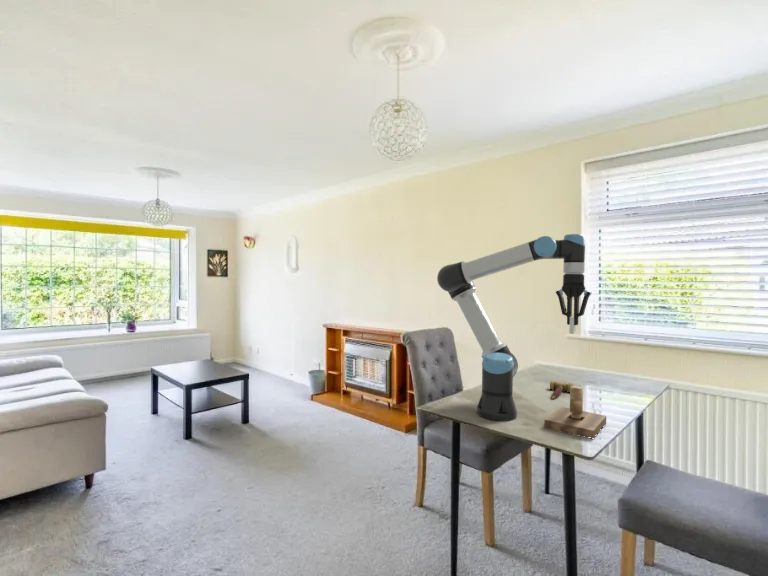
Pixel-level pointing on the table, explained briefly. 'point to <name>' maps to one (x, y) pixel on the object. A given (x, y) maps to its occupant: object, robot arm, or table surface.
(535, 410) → the table surface
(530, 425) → the table surface
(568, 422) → the board
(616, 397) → the table surface
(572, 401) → the peg
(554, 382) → the gavel
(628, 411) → the table surface
